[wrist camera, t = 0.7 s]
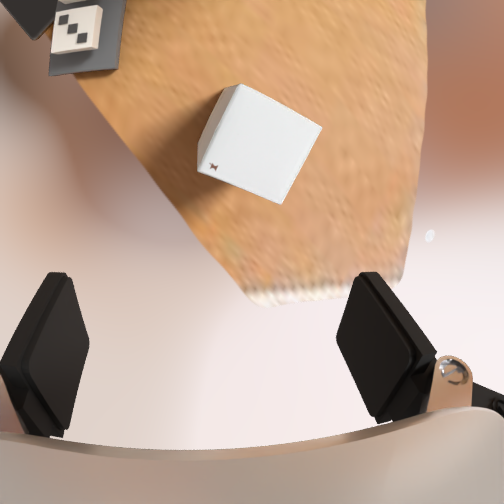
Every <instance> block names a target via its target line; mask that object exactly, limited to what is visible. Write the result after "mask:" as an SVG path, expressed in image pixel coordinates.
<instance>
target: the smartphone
mask: <svg viewBox="0 0 504 504" xmlns="http://www.w3.org/2000/svg"><path fill="white" fill-rule="evenodd" d="M57 1H58V0H0V2H1V3H2V4H3V6H4V7H5V8H6V9H7V11H8V12H9V13H10V14H11V15H12V17H13V18H14V19H15V20H16V22H17V23H18V24H19V25H20V26H21V28H22V29H23V30H24V31H25V32H26V34H27V35H28V36H29V37H30V38H31V39H32V40H37V39H39V38H40V37H41V36H42V35H43V34H44V32H45V31H46V30H47V29H48V28H49V27H50V26H51V25H52V24H53V23H54V19H55V13H56V7H57Z"/></svg>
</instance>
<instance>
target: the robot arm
mask: <svg viewBox="0 0 504 504" xmlns="http://www.w3.org/2000/svg"><path fill="white" fill-rule="evenodd" d="M336 341H337V344H338V346H339V348H340V351H341V353H342V355H343V357H344V359H345V361H346V364H347V366H348V368H349V370H350V372H351V374H352V376H353V379H354V381H355V383H356V385H357V388H358V390H359V392H360V394H361V396H362V399H363V401H364V403H365V405H366V408H367V410H368V412H369V414H370V415H371V416H372V417H375V420H376V422H377V424H380V423H384V422H388V421H391V420H392V421H393V422H391V423H388V424H384V425H380V426H376V427H371V428H367V429H363V430H359V431H354V432H350V433H345V434H340V435H335V436H330V437H325V438H319V439H313V440H307V441H301V442H293V443H286V444H278V445H269V446H260V447H250V448H235V449H217V450H153V449H135V448H122V447H110V446H102V445H93V444H85V443H78V442H71V441H64V440H58V439H52V438H50V436H55V437H61V438H63V435H64V430H65V429H66V430H67V429H68V428H69V426H70V421H71V417H72V412H73V408H74V403H75V399H76V395H77V390H78V387H79V383H80V379H81V375H82V371H83V368H84V364H85V360H86V357H87V353H88V349H89V337H88V334H87V331H86V328H85V324H84V321H83V318H82V315H81V311H80V308H79V304H78V300H77V297H76V293H75V289H74V285H73V281H72V279H71V278H70V277H68V276H67V275H66V273H60V272H50V273H48V274H47V276H46V278H45V279H44V281H43V283H42V284H41V286H40V288H39V289H38V291H37V293H36V295H35V296H34V298H33V299H32V301H31V303H30V305H29V307H28V308H27V310H26V312H25V314H24V316H23V317H22V319H21V321H20V323H19V325H18V327H17V329H16V330H15V332H14V334H13V336H12V338H11V341H10V342H9V344H8V346H7V348H6V351H5V353H4V355H3V357H2V359H1V361H0V504H504V395H502V394H500V393H497V392H495V391H493V390H490V389H488V388H486V387H483V386H481V385H479V384H476V383H474V382H473V377H472V372H471V370H470V368H469V367H468V366H467V364H466V363H465V362H463V361H462V360H461V359H459V358H457V357H454V356H443V357H440V358H439V359H438V360H436V358H435V354H436V353H437V351H436V350H435V348H434V347H433V346H432V344H431V343H430V341H429V340H428V338H427V337H426V335H425V334H424V333H423V331H422V330H421V329H420V327H419V326H418V324H417V323H416V322H415V321H414V319H413V318H412V316H411V315H410V314H409V312H408V311H407V310H406V308H405V307H404V306H403V304H402V303H401V302H400V300H399V299H398V298H397V297H396V295H395V294H394V293H393V291H392V290H391V289H390V287H389V286H388V285H387V284H386V282H385V281H384V280H383V279H382V277H381V276H380V275H379V274H378V273H377V272H361V273H360V274H359V276H357V277H355V279H354V281H353V285H352V288H351V291H350V294H349V298H348V301H347V304H346V307H345V310H344V313H343V316H342V319H341V323H340V325H339V328H338V331H337V335H336Z"/></svg>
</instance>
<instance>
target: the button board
mask: <svg viewBox="0 0 504 504" xmlns="http://www.w3.org/2000/svg"><path fill="white" fill-rule="evenodd" d="M94 5H98V6H99V7H101V8H102V9H103V12H102V19H101V26H100V34H99V43H98V49H93V50H85V51H78V52H71V53H64V54H53V53H51V52H50V63H49V76H58V75H64V74H72V73H80V72H89V71H99V70H111V69H118V64H119V53H120V43H121V35H122V27H123V19H124V12H125V6H126V0H85V1H80V2H74V3H69V4H64V3H62V2H60V1H57V7H56V12H60V11H64V10H70V9H75V8H81V7H87V6H94ZM55 16H56V13H55ZM54 23H55V19H54ZM53 30H54V26H53ZM52 38H53V34H52ZM51 47H52V42H51Z"/></svg>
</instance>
